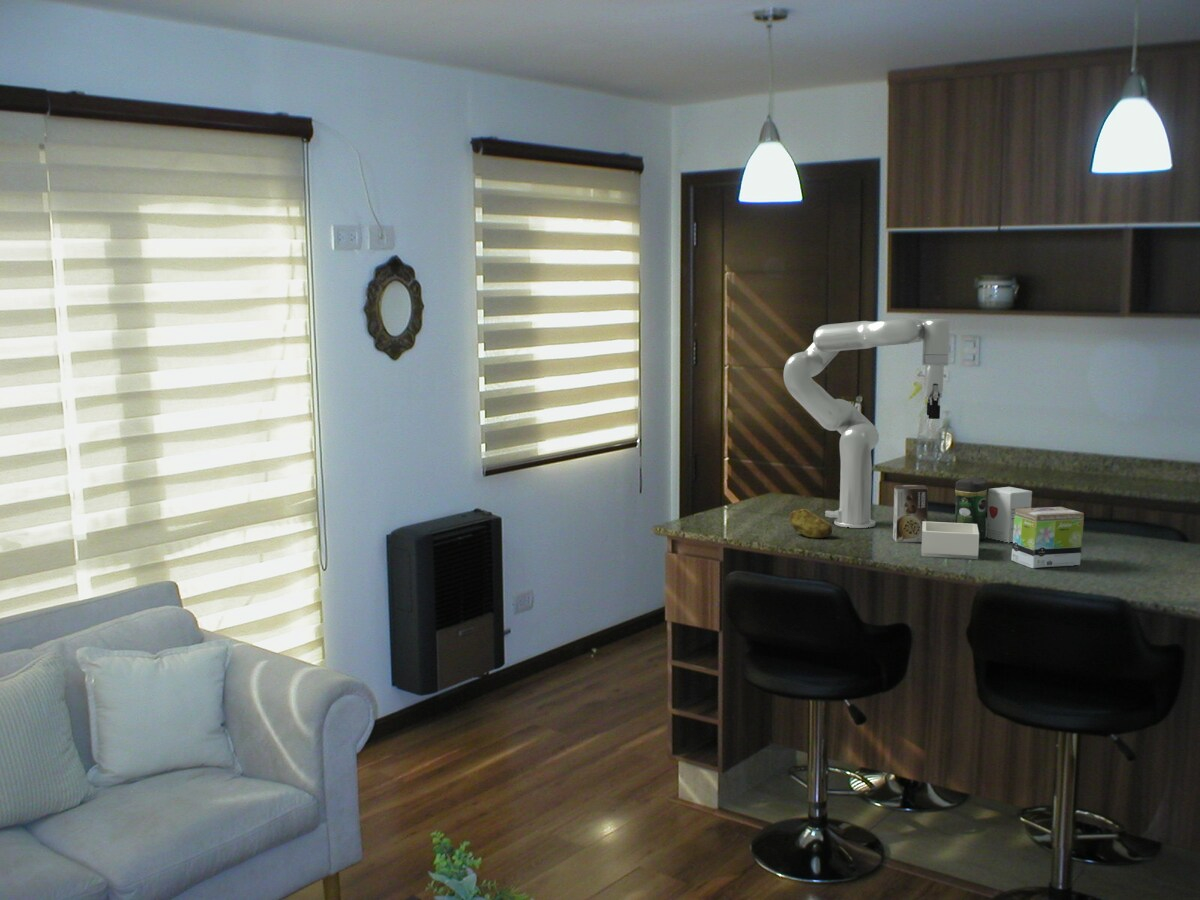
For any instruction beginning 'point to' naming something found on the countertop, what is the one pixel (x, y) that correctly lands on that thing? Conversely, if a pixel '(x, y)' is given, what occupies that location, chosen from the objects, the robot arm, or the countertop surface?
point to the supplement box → (1005, 511)
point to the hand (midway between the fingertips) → (933, 417)
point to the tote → (950, 540)
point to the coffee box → (909, 512)
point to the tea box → (1047, 537)
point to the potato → (809, 524)
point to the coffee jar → (971, 503)
